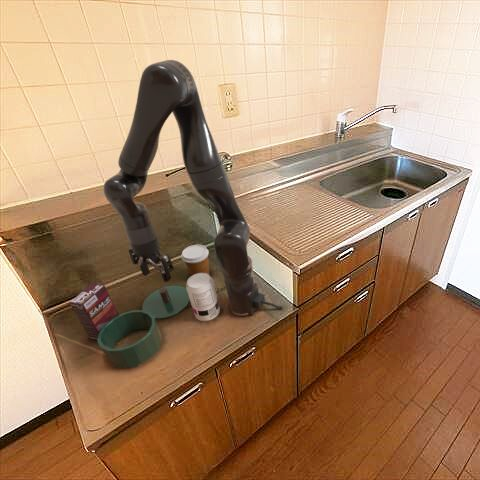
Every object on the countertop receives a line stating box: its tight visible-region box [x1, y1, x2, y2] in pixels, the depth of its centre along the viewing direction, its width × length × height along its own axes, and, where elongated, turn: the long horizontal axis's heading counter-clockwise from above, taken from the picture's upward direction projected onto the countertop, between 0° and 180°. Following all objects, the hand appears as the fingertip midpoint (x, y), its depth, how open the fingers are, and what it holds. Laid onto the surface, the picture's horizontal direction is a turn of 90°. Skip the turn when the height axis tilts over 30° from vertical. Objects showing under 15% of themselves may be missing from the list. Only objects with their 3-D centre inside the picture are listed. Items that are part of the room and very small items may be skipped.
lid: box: [141, 285, 191, 320], centre depth 109 cm, size 16×16×6 cm
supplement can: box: [185, 273, 221, 322], centre depth 103 cm, size 8×8×15 cm
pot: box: [97, 309, 163, 370], centre depth 94 cm, size 15×15×8 cm
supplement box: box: [69, 282, 120, 340], centre depth 97 cm, size 9×5×16 cm, turn 168°
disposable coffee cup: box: [181, 244, 210, 277], centre depth 119 cm, size 10×10×12 cm
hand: (157, 277), depth 104 cm, fingers open, 8 cm apart
